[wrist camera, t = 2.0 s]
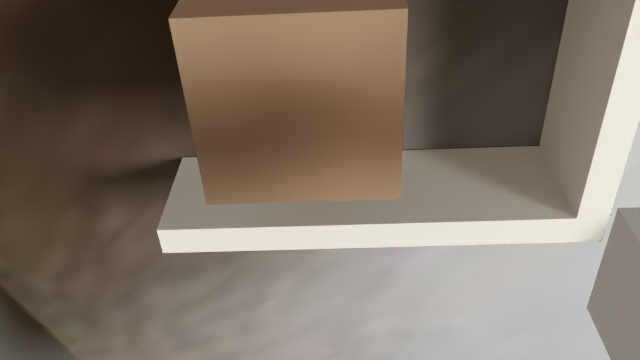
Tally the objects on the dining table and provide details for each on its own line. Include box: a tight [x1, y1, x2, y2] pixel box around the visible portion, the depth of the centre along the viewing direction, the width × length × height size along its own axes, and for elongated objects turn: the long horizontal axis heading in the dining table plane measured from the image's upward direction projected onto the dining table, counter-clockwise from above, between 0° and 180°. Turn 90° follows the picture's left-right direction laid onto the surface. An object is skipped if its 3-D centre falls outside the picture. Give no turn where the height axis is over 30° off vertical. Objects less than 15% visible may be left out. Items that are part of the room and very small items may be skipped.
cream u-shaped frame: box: [157, 0, 640, 253], centre depth 21 cm, size 17×15×5 cm
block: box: [168, 0, 408, 205], centre depth 20 cm, size 6×6×8 cm
